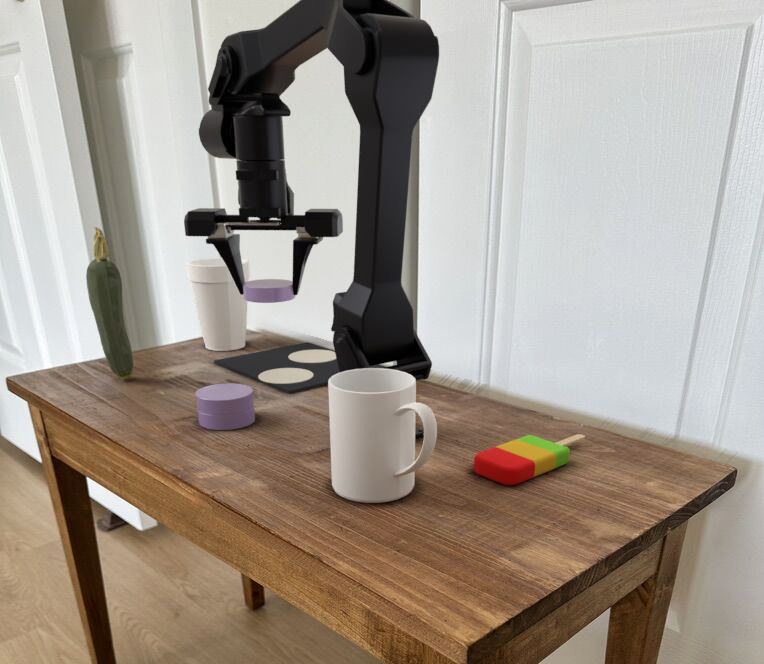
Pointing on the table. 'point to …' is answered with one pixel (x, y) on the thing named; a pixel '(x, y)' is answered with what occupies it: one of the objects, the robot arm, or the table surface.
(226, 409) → the purple puck
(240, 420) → the purple flat disc
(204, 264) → the foam cup
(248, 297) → the purple round puck
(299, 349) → the place mat
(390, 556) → the table surface
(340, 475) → the mug
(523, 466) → the popsicle
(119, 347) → the vegetable
